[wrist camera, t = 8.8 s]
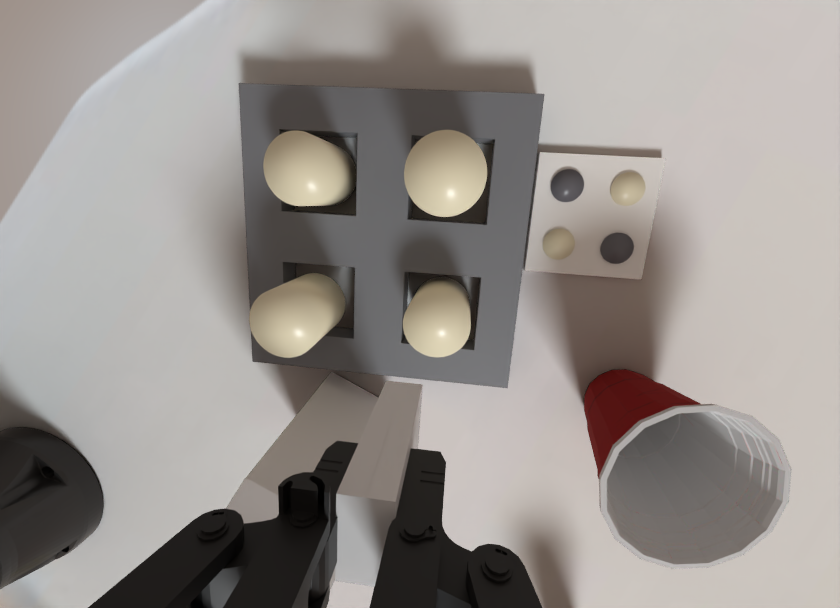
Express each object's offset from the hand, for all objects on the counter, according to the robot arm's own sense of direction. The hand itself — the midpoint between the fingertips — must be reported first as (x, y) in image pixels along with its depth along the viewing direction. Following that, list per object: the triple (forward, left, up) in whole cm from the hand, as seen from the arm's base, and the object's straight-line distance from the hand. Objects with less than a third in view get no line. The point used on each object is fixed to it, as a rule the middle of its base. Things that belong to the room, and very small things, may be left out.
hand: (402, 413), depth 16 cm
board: (-4, +5, -19) cm, 20 cm away
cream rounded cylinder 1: (-9, +10, -18) cm, 23 cm away
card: (+12, +8, -19) cm, 23 cm away
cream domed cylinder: (+1, +10, -16) cm, 19 cm away
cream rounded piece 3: (+1, 0, -18) cm, 18 cm away
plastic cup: (+17, -7, -19) cm, 26 cm away
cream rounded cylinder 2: (-9, 0, -16) cm, 18 cm away
